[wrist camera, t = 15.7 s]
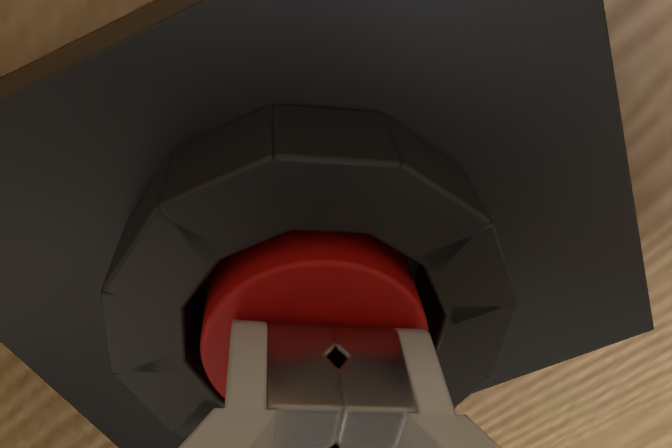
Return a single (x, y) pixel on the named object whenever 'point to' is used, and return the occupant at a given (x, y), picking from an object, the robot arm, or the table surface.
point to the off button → (307, 289)
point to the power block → (313, 185)
